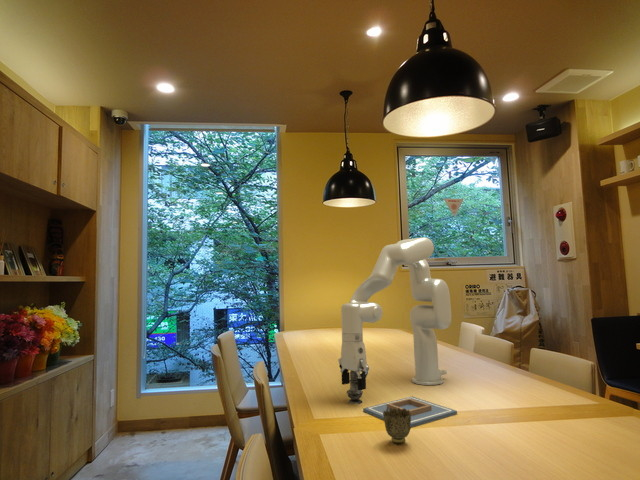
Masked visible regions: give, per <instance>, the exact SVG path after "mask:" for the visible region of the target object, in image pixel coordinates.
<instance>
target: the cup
mask: <svg viewBox="0 0 640 480" xmlns="http://www.w3.org/2000/svg"><path fill="white" fill-rule="evenodd" d="M409 412H410V411H409V410H408V411H407V410H406V409H405V408H404V409H402V411H401V410H400V408H398V410H396V409H395V408H393V409H392V408H391V409H390V410H389V411H388V410H386V411H383V416H384V420H383V421H384V427H385V431H386V433H387V435H388V436H389V437H390V438H391V439H390V440H391V442H392V444H393V445H398V446H400V445H404V444H405V443H406V438H407V437H408V435H409V434H410V431H411V428H410V425H411V413H409Z"/></svg>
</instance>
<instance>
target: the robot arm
mask: <svg viewBox="0 0 640 480" xmlns="http://www.w3.org/2000/svg"><path fill="white" fill-rule="evenodd" d="M434 248H435V247H434V243H433V241H432V240H431V239H430V238H428V237H423V236H422V237H417V238H407V239H406V238H405V239H402V240H399V241H397V242H396V243H392V244H387V245H385V246H383V247H382V249H381V251H380V254H379V256H378V258H377V260H376V263H375V264H374V267H373V269H372V270H371V271H372V272H371V274H370V275H369V276H368V277H367V278H366V279H365V280H363V282H362V283H361V284H360V285H359V286H358V287H357V288H356V289H355V290H354V292H353V293H352V296H351V298H350V300H349V303H348V302H347V303H343V304H342V305H341V307H340V308H341V310H340V313H341V318H340V319H341V350H340V351H341V352H340V357H339V359H337V362H338V365H339V368H340V374H341V385H349V384H350V381H349V380H350V371H354V372H356V373H357V375H358V378H357V382H358V390H362V391H363V390H366V389H367V377H368V374H369V370H370V366H369V365H368V363H367V353H366V352H367V351H366V347H365V343H364V337H363V336H364V335H363V334H364V333H363V323H377V322H378V321H380V320H381V318H382V317H383V314H384V313H383V308H382V306H381V305H380V304H378V303H377V302H375V301H374V302H373V301H369V299H370V298H371V297H373V295H375V294H377V293H379V292H381V291H383V290H384V289H386V288H388V287H390V286H391V284H392V282H393V279H394V278H395V275H396V273H397V270H398V268H399V266H402V265H404V266H407V268H408V271H409V280H410V291H411V296H412V297H411V298H413V299H414V301H417V302H423V303H424V302H425V303H427V302H429V303H430V302H431V303H432V304H417V305H414V306H413V307H412V308H411V309H410V311H409V320H410V325H411V327H412V329H411V330H412V337H413V353H414V355H413V356H414V371H415V372H414V373H415V376H413V377H412V378H411V381H412V383H414V384H417V385H422V386H435V385H436V386H437V385H440V384H443V383H444V378H443V377H441V376H442V375H446V374H447V370H446V369H440V368H439V353H438V338H437V335H436V333H435V330H434V329H436V330H445V329H447V328H449V327H450V326H451V323H452V305H451V295H450V289H449V286H448V284H447V282H446V281H445V280H444V279H441V278H432V277H431V269H430V265H429V263H428V261H427V259H428V258H430V257H431V256H433V254H434V251H435V249H434Z"/></svg>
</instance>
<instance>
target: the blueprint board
mask: <svg viewBox="0 0 640 480" xmlns="http://www.w3.org/2000/svg"><path fill="white" fill-rule="evenodd" d="M391 408H392V409H393V408H395V409H396V410H398V408H400V410H401V411H402V409H404V408H405V409H406V410H407V411H408V410H409V411H410V412H409V413H411V425H410V429H411V428H415V427H418V426H421V425H422V426H423V425H425V424H428V423H431V422H434V421H439V420H442V419H445V418H449V417H452V416H455V415H458V411H457V410H455V409H452V408H449V407H446V406H443V405H440V404H436V403H434V402H430V401H427V400H425V399H421V398H419V397H415V396H413V395H412V396H408V397H404V398H399V399H396V400H392V401H387V402H384V403H379V404H375V405H371V406H367V407H363V408H362V412H364V413H366V414H369V415H370V416H373V417H375V418H377V419H381V420H382V421H384V416H383V411H386V410H388V411H389V410H390V409H391Z"/></svg>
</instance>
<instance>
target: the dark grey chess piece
mask: <svg viewBox="0 0 640 480" xmlns="http://www.w3.org/2000/svg"><path fill="white" fill-rule="evenodd" d="M349 373H350V380H349V381H350V383H349V384H350V385H349V389H348V390H347V391H346V394H347V396H348V398H349V399H348V401H347V403H348V404H350V405H360V404H362V403H363V400H362V399H361V398H362V396H363V393H364V391H363V390H358V382H357V378H359V377H358V375H357V373H356V372H354V371H350V370H349Z"/></svg>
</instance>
